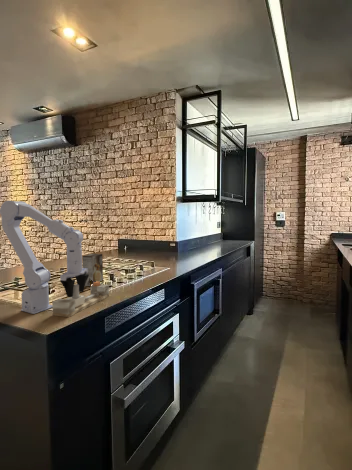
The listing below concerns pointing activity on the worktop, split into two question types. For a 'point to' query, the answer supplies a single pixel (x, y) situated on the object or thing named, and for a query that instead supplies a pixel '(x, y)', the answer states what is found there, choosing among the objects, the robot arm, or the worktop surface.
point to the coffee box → (93, 267)
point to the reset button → (96, 283)
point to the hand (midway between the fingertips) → (75, 294)
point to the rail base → (69, 309)
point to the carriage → (77, 296)
